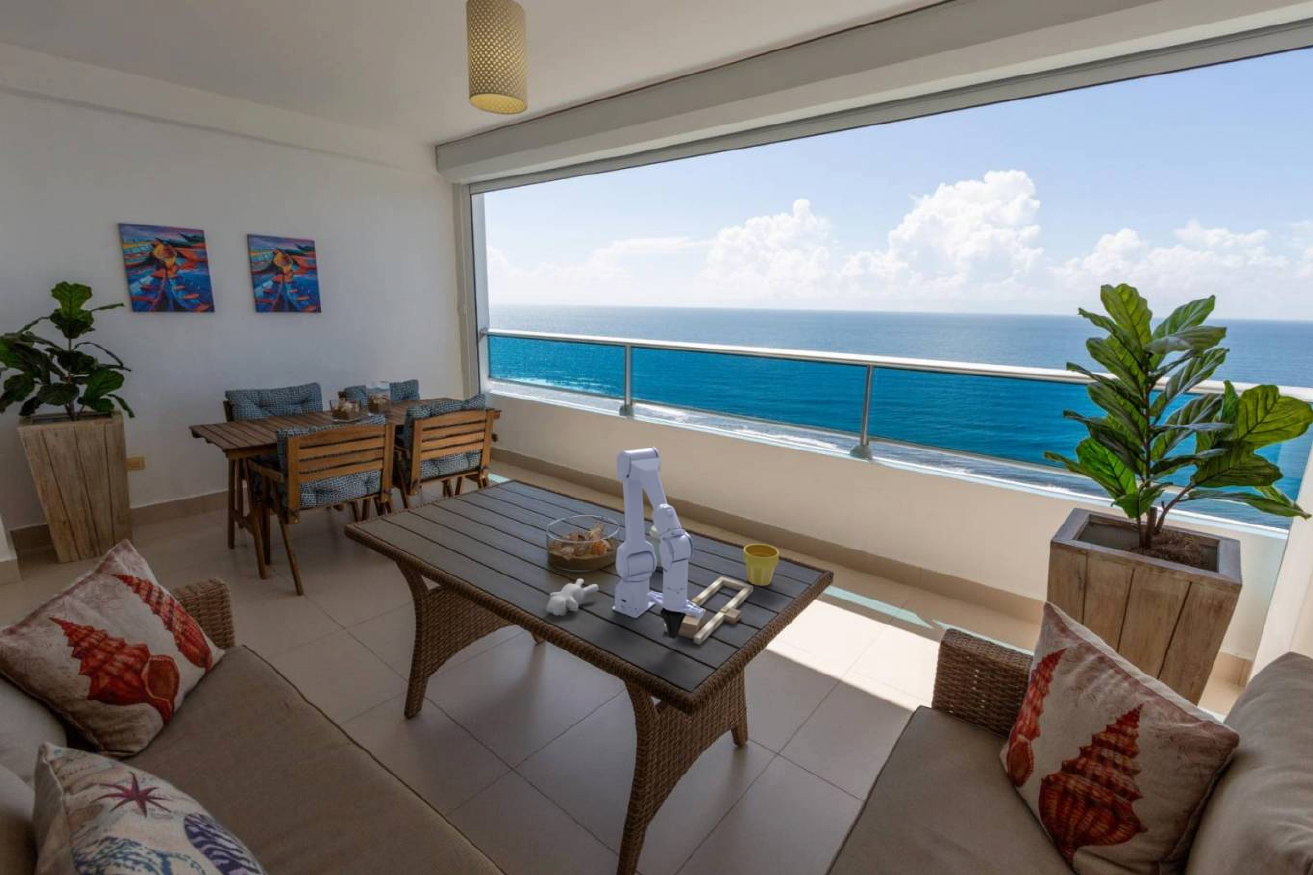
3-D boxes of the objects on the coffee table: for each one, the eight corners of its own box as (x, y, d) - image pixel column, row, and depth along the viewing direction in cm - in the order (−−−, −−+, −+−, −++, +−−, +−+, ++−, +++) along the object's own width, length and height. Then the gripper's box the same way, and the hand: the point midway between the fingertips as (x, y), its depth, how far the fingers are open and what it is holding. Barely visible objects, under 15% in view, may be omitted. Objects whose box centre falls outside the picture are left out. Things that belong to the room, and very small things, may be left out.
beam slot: (710, 649, 132) (711, 641, 131) (663, 631, 139) (664, 623, 138) (762, 594, 158) (762, 587, 157) (720, 581, 165) (721, 575, 164)
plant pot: (752, 569, 173) (754, 540, 171) (783, 579, 166) (785, 549, 164) (735, 581, 165) (737, 550, 163) (766, 592, 159) (768, 561, 156)
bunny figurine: (537, 598, 146) (575, 570, 157) (539, 614, 147) (577, 586, 159) (564, 609, 141) (601, 580, 152) (566, 625, 142) (603, 596, 154)
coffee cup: (678, 559, 179) (679, 524, 176) (672, 571, 171) (673, 534, 168) (653, 555, 181) (653, 521, 178) (645, 567, 173) (646, 531, 170)
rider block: (696, 640, 136) (696, 624, 135) (676, 635, 137) (677, 620, 136) (705, 623, 143) (705, 608, 142) (687, 619, 145) (687, 604, 144)
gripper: (710, 586, 129) (708, 638, 132) (658, 569, 136) (657, 619, 139) (695, 598, 123) (693, 653, 126) (642, 580, 131) (641, 632, 134)
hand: (673, 636), depth 132 cm, fingers closed
